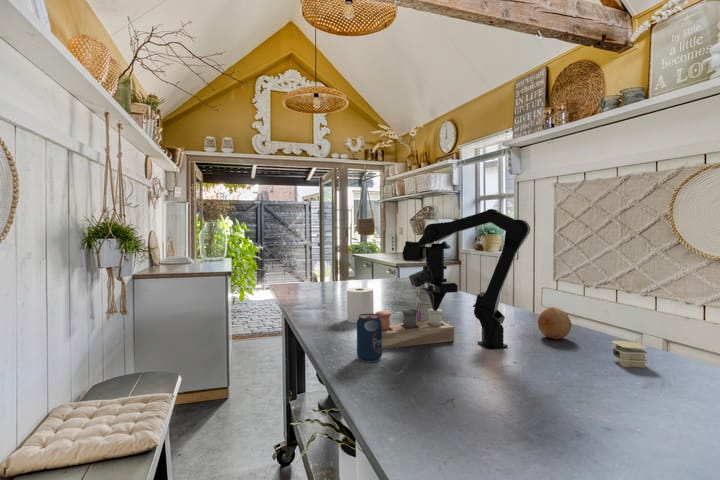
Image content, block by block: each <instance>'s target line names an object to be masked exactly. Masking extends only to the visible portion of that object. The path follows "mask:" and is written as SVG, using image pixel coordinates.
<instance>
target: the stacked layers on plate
mask: <svg viewBox="0 0 720 480" xmlns="http://www.w3.org/2000/svg"><path fill="white" fill-rule="evenodd" d="M610 342H611V343H613V344H615V345H611V346H610V347H611V349H612V353H610V356H612V357H614V358H615V359H618V360H619V366H621V367H624V368H631V367H632V368H633V367H634V368H646V363H648V360H647V359H646V355H647V354H648V352H647V351H645V350H644V349H648V348H647V346H646V345H644V344H643V343H639V342H633V341H632V342H631V341H624V340H612V341H610Z"/></svg>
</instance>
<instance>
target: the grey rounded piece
mask: <svg viewBox="0 0 720 480" xmlns="http://www.w3.org/2000/svg"><path fill="white" fill-rule="evenodd" d="M401 314H403V315H402V316H403V317H402V318H403V322H402V323H403V328H405V329H411V328H416V321H417V310H416V309H412V308H407V309H406V308H405V309H402V310H401Z"/></svg>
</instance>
